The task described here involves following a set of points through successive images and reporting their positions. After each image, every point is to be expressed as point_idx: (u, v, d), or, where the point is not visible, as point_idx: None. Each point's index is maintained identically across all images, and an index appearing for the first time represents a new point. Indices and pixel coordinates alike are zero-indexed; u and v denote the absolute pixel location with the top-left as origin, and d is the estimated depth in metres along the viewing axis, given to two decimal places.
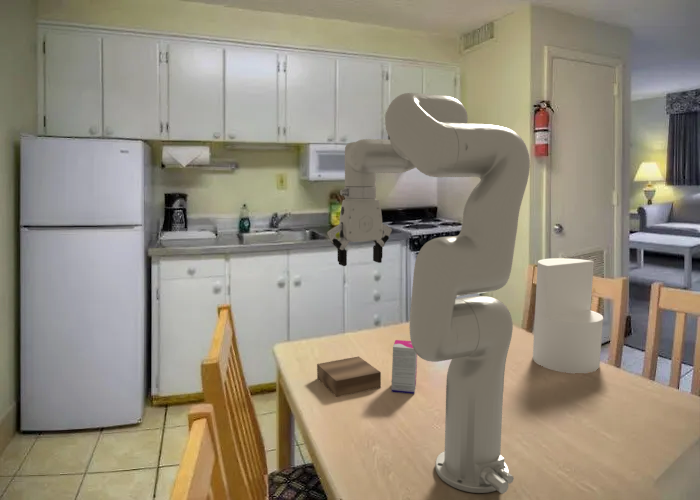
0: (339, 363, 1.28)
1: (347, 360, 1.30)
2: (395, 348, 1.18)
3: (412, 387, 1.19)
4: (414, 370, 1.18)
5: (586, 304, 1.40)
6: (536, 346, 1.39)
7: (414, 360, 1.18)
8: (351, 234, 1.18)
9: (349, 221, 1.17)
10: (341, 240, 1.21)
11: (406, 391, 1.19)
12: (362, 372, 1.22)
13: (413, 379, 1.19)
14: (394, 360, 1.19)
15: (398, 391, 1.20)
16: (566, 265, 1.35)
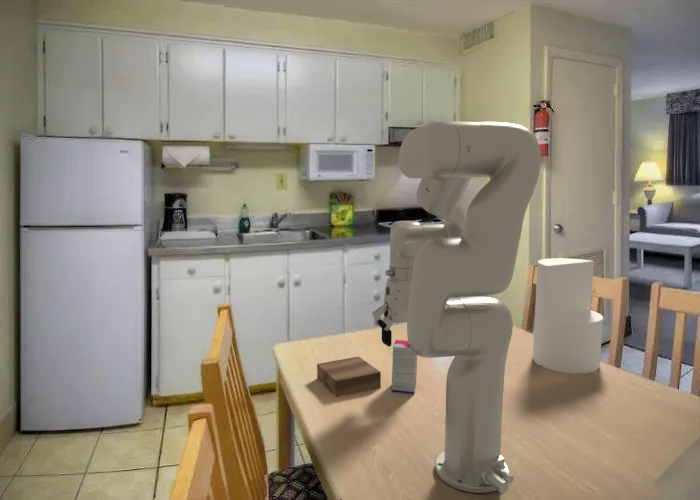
0: (339, 363, 1.28)
1: (347, 360, 1.30)
2: (395, 348, 1.18)
3: (412, 387, 1.19)
4: (414, 370, 1.18)
5: (586, 304, 1.40)
6: (536, 346, 1.39)
7: (414, 360, 1.18)
8: (397, 316, 1.16)
9: (395, 303, 1.15)
10: (385, 319, 1.19)
11: (406, 391, 1.19)
12: (362, 372, 1.22)
13: (413, 379, 1.19)
14: (394, 360, 1.19)
15: (398, 391, 1.20)
16: (566, 265, 1.35)
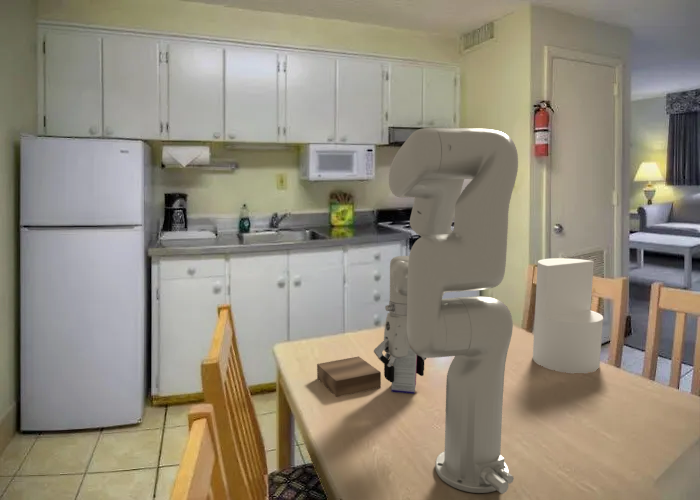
0: (339, 363, 1.28)
1: (347, 360, 1.30)
2: None
3: (412, 387, 1.19)
4: (414, 370, 1.18)
5: (586, 304, 1.40)
6: (536, 346, 1.39)
7: (414, 360, 1.18)
8: (397, 350, 1.17)
9: (395, 338, 1.16)
10: (387, 355, 1.20)
11: (406, 391, 1.19)
12: (362, 372, 1.22)
13: (413, 379, 1.19)
14: (394, 360, 1.19)
15: (398, 391, 1.20)
16: (566, 265, 1.35)
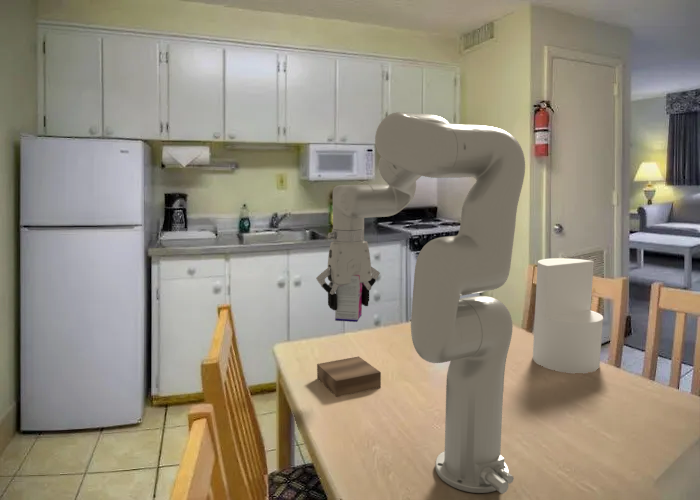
0: (339, 363, 1.28)
1: (347, 360, 1.30)
2: None
3: (355, 315, 1.20)
4: (357, 298, 1.19)
5: (586, 304, 1.40)
6: (536, 346, 1.39)
7: (356, 287, 1.19)
8: (339, 277, 1.17)
9: (337, 264, 1.17)
10: (331, 284, 1.21)
11: (349, 319, 1.20)
12: (362, 372, 1.22)
13: (356, 307, 1.19)
14: (337, 288, 1.20)
15: (341, 319, 1.20)
16: (566, 265, 1.35)
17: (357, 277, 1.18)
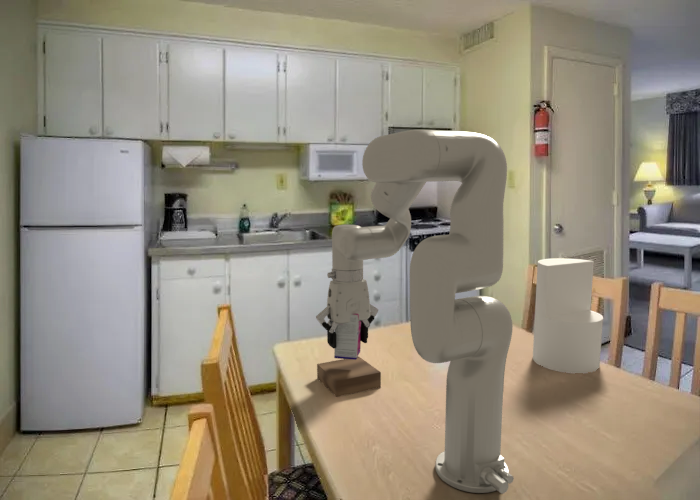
0: (339, 363, 1.28)
1: (347, 360, 1.30)
2: None
3: (354, 353, 1.21)
4: (356, 336, 1.21)
5: (586, 304, 1.40)
6: (536, 346, 1.39)
7: (355, 326, 1.20)
8: (338, 317, 1.19)
9: (336, 304, 1.18)
10: (330, 322, 1.22)
11: (348, 357, 1.22)
12: (362, 372, 1.22)
13: (355, 345, 1.21)
14: None
15: (341, 357, 1.22)
16: (566, 265, 1.35)
17: (356, 316, 1.20)
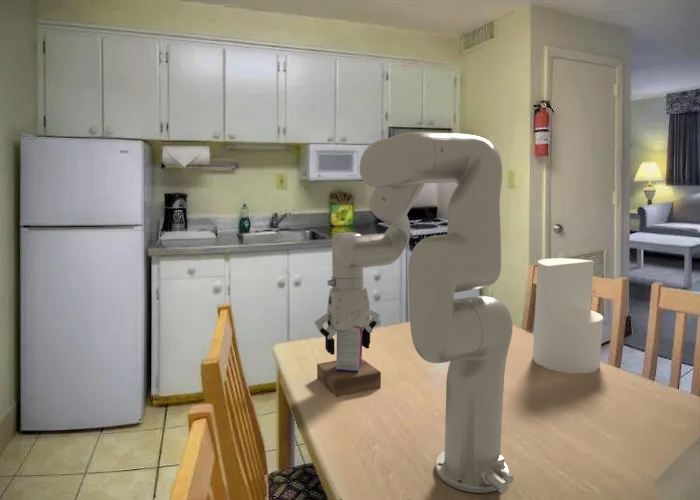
0: None
1: None
2: None
3: (356, 366, 1.22)
4: (357, 349, 1.21)
5: (586, 304, 1.40)
6: (536, 346, 1.39)
7: (357, 339, 1.21)
8: (338, 324, 1.19)
9: (336, 312, 1.19)
10: (329, 328, 1.22)
11: (350, 370, 1.22)
12: (362, 372, 1.22)
13: (357, 358, 1.21)
14: (338, 340, 1.22)
15: (342, 370, 1.22)
16: (566, 265, 1.35)
17: (358, 329, 1.20)
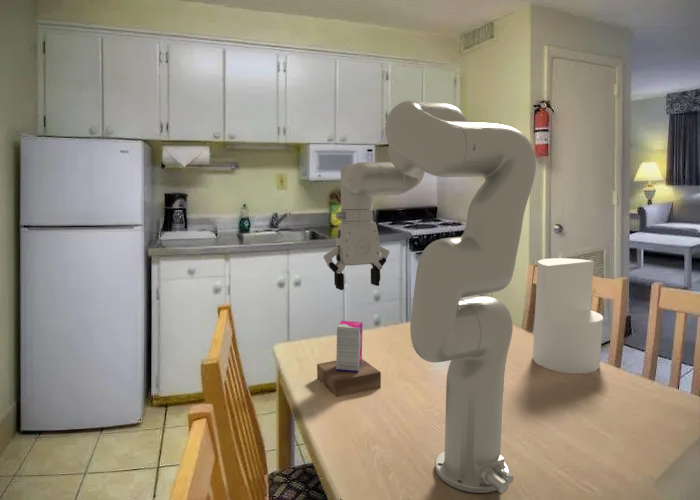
0: None
1: None
2: (338, 328, 1.21)
3: (356, 366, 1.22)
4: (357, 349, 1.21)
5: (586, 304, 1.40)
6: (536, 346, 1.39)
7: (357, 339, 1.21)
8: (348, 258, 1.16)
9: (346, 244, 1.15)
10: (338, 263, 1.19)
11: (350, 370, 1.22)
12: (362, 372, 1.22)
13: (357, 358, 1.21)
14: (338, 340, 1.22)
15: (342, 370, 1.22)
16: (566, 265, 1.35)
17: (358, 329, 1.20)
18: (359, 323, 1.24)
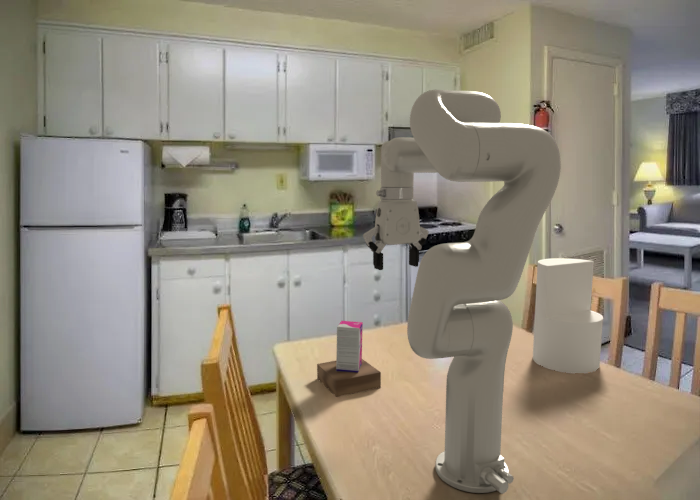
0: None
1: None
2: (338, 328, 1.21)
3: (356, 366, 1.22)
4: (357, 349, 1.21)
5: (586, 304, 1.40)
6: (536, 346, 1.39)
7: (357, 339, 1.21)
8: (388, 237, 1.13)
9: (386, 223, 1.12)
10: (377, 243, 1.16)
11: (350, 370, 1.22)
12: (362, 372, 1.22)
13: (357, 358, 1.21)
14: (338, 340, 1.22)
15: (342, 370, 1.22)
16: (566, 265, 1.35)
17: (358, 329, 1.20)
18: (359, 323, 1.24)
